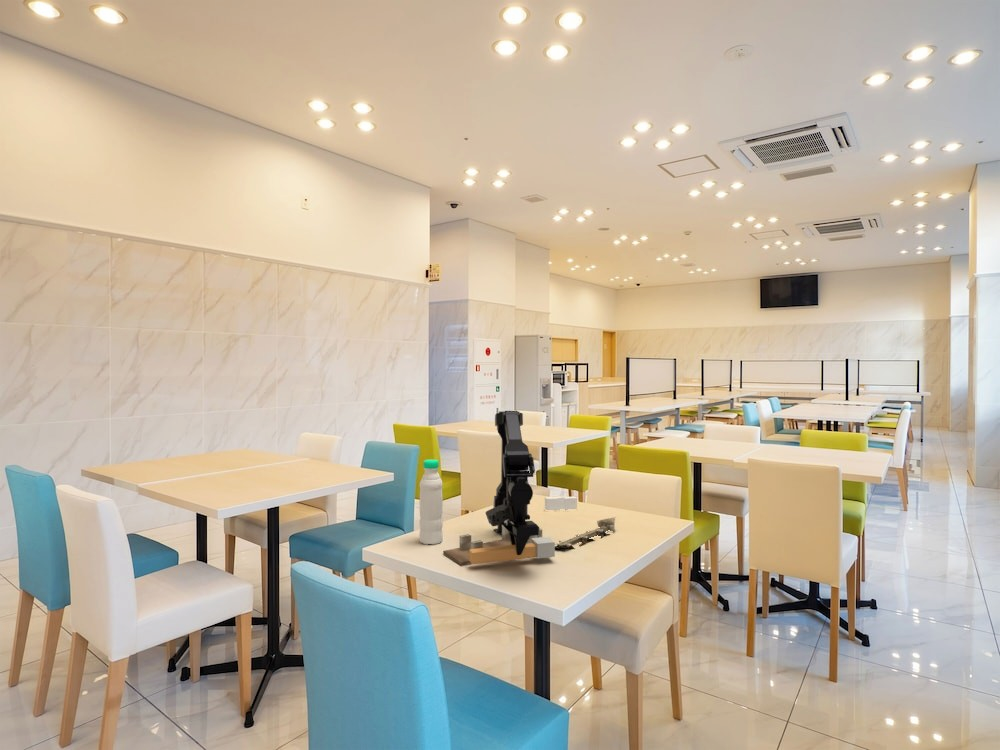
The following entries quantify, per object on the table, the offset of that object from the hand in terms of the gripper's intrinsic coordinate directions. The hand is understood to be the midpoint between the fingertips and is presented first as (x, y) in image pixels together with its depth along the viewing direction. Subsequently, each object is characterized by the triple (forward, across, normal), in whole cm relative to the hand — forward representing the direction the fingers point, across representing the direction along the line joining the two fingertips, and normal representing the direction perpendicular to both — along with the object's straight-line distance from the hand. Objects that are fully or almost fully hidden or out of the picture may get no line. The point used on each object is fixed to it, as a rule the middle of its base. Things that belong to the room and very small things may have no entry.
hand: (517, 552), depth 147 cm
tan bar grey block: (+1, 0, -2) cm, 2 cm away
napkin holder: (+4, -48, +34) cm, 59 cm away
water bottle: (+3, -26, -19) cm, 32 cm away
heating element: (+4, -14, +27) cm, 31 cm away
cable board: (+3, -11, -4) cm, 12 cm away
